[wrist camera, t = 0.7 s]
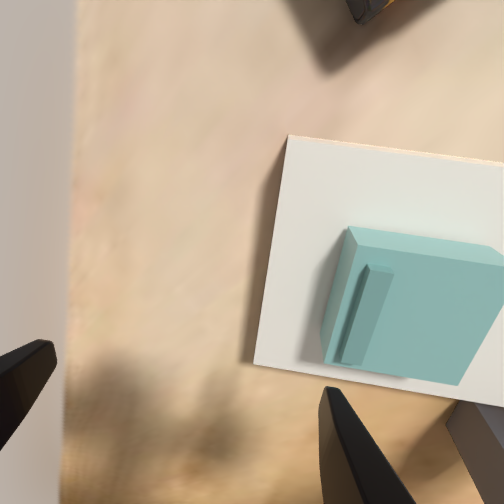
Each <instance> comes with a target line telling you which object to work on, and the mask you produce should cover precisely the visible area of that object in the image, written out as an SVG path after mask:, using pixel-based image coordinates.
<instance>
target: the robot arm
mask: <svg viewBox="0 0 504 504" xmlns="http://www.w3.org/2000/svg"><path fill="white" fill-rule="evenodd" d="M56 365H57V357H56V352H55V348H54V344H53V342H52V341H48V340H42V339H38V340H35V341H33V342H30V343H28V344H26V345H24V346H22V347H20V348H17V349H15V350H13V351H11V352H9V353H6V354H4V355H2V356H0V451H1V449H2V448H3V446H4V445H5V444H6V442H7V441H8V440H9V438H10V437H11V436H12V434H13V433H14V432H15V430H16V429H17V427H18V426H19V425H20V423H21V422H22V420H23V419H24V418H25V416H26V415H27V413H28V412H29V410H30V409H31V407H32V406H33V404H34V402H35V401H36V399H37V397H38V396H39V394H40V392H41V391H42V389H43V388H44V386H45V384H46V382H47V381H48V379H49V377H50V376H51V374H52V372H53V371H54V369H55V368H56ZM318 418H319V465H320V477H321V485H322V494H323V502H324V504H416V502H415V501H414V499H413V498H412V496H411V495H410V493H409V492H408V490H407V489H406V487H405V486H404V484H403V483H402V481H401V480H400V478H399V477H398V475H397V474H396V472H395V471H394V469H393V468H392V466H391V465H390V463H389V462H388V460H387V459H386V457H385V456H384V454H383V453H382V451H381V450H380V448H379V447H378V445H377V444H376V443H375V441H374V440H373V438H372V437H371V435H370V434H369V432H368V431H367V429H366V428H365V426H364V425H363V423H362V422H361V420H360V419H359V417H358V416H357V414H356V413H355V411H354V410H353V408H352V407H351V405H350V404H349V402H348V401H347V399H346V398H345V396H344V395H343V393H342V392H341V390H340V389H338V388H335V387H329V386H326V387H325V388H324V390H323V394H322V397H321V400H320V404H319V411H318Z"/></svg>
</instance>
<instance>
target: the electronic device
mask: <svg viewBox="0 0 504 504" xmlns="http://www.w3.org/2000/svg"><path fill="white" fill-rule="evenodd" d="M393 1H395V0H346V2H347V4H348V6H349V9H350V11H351V13H352V15H353V17H354V20H355V21H356V23H357V24H362V25H363V24H365V23H366V22H367V21H369V20H370V19H371V18H373V17H374V16H375V15H376V14H378V13H379V12H380V11H381V10H383V9H384V8H385V7H387V6H388V5H389V4H391V3H392V2H393Z"/></svg>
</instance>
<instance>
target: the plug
mask: <svg viewBox="0 0 504 504" xmlns="http://www.w3.org/2000/svg"><path fill="white" fill-rule="evenodd" d="M446 427H447V429H448V431H449V433H450V435H451V437H452V439H453V441H454V443H455V445H456V447H457V449H458V451H459V453H460V455H461V457H462V459H463V461H464V463H465V465H466V467H467V469H468V471H469V473H470V475H471V477H472V479H473V481H474V483H475V486H476V488H477V490H478V492H479V494H480V496H481V498H482V500H483V502H484V504H504V407H500V406H494V405H488V404H483V403H477V402H471V401H465V400H460V401H459V403H458V405H457V406H456V408H455V410H454V411H453V413H452V415H451V416H450V418H449V420H448V422H447V423H446Z"/></svg>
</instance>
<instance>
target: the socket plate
mask: <svg viewBox="0 0 504 504" xmlns="http://www.w3.org/2000/svg"><path fill="white" fill-rule="evenodd" d="M348 226H354V227H361V228H368V229H375V230H382V231H389V232H396V233H403V234H409V235H416V236H423V237H430V238H437V239H444V240H451V241H458V242H465V243H472V244H478V245H485V246H490V247H492V248H493V249H495V250H496V251H497V252H499V253H500V254H502V255H503V256H504V162H496V161H488V160H481V159H473V158H465V157H458V156H450V155H442V154H435V153H427V152H419V151H412V150H404V149H396V148H389V147H381V146H373V145H366V144H358V143H350V142H343V141H335V140H327V139H320V138H312V137H304V136H297V135H289V134H288V140H287V146H286V153H285V159H284V165H283V172H282V178H281V185H280V191H279V198H278V204H277V211H276V217H275V224H274V230H273V237H272V243H271V250H270V256H269V263H268V269H267V275H266V282H265V288H264V295H263V301H262V308H261V314H260V321H259V327H258V334H257V341H256V347H255V354H254V361H253V364H256V365H261V366H267V367H273V368H279V369H285V370H291V371H296V372H302V373H308V374H314V375H320V376H325V377H331V378H337V379H343V380H349V381H355V382H360V383H366V384H372V385H378V386H384V387H390V388H395V389H401V390H407V391H413V392H419V393H424V394H430V395H436V396H442V397H448V398H454V399H459V400H465V401H471V402H477V403H483V404H488V405H494V406H500V407H504V305H503V307H502V309H501V310H500V312H499V314H498V316H497V317H496V319H495V321H494V323H493V324H492V326H491V328H490V330H489V332H488V333H487V335H486V337H485V339H484V340H483V342H482V344H481V346H480V347H479V349H478V351H477V353H476V354H475V356H474V358H473V360H472V362H471V363H470V365H469V367H468V369H467V370H466V372H465V374H464V376H463V377H462V379H461V381H460V383H459V385H458V386H454V385H448V384H442V383H436V382H430V381H425V380H419V379H413V378H407V377H401V376H395V375H389V374H383V373H377V372H371V371H366V370H360V369H354V368H348V367H342V366H336V365H330V364H324V362H323V354H322V347H321V339H320V330H321V326H322V323H323V319H324V315H325V311H326V308H327V304H328V300H329V296H330V293H331V289H332V285H333V281H334V277H335V274H336V270H337V266H338V262H339V259H340V255H341V251H342V247H343V244H344V240H345V236H346V232H347V229H348Z"/></svg>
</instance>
